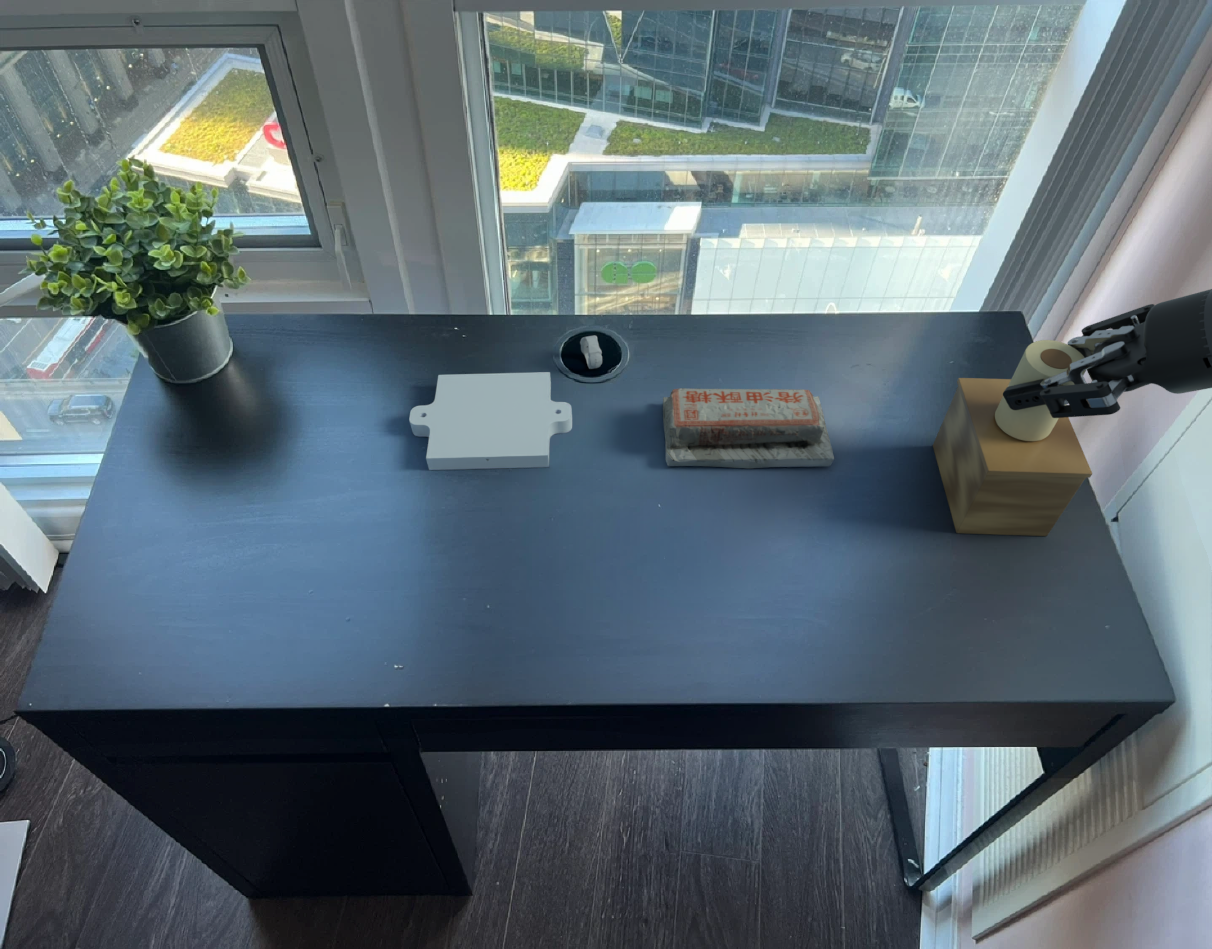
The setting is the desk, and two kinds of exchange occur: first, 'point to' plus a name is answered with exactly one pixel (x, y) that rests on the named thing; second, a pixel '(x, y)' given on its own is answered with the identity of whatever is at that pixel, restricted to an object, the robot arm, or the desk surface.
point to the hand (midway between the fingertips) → (1020, 381)
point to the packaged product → (745, 428)
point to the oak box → (1004, 466)
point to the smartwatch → (591, 351)
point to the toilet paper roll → (1035, 365)
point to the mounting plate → (490, 421)
